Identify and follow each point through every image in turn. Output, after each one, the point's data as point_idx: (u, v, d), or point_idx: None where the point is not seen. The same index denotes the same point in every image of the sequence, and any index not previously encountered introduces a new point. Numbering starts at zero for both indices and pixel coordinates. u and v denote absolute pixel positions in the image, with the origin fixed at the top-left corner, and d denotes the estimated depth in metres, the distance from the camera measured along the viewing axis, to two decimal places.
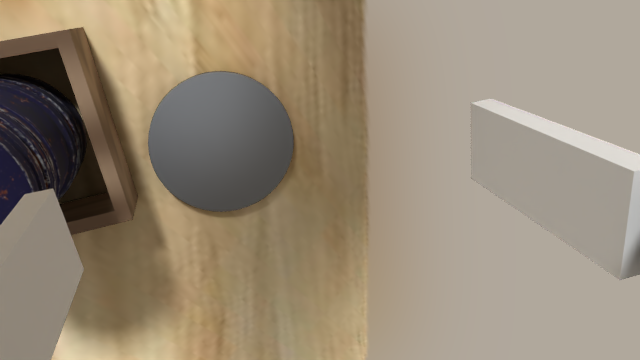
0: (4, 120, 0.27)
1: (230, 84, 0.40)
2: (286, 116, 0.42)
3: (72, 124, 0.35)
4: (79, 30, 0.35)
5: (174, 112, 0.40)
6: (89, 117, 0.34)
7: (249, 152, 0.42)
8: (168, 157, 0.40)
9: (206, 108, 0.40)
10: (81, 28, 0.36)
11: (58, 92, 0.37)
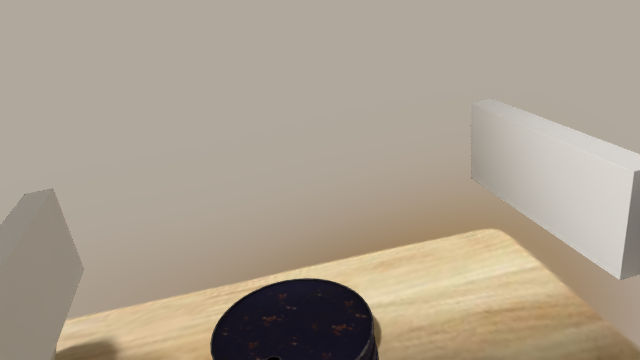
0: None
1: None
2: None
3: None
4: None
5: None
6: None
7: None
8: None
9: None
10: None
11: None
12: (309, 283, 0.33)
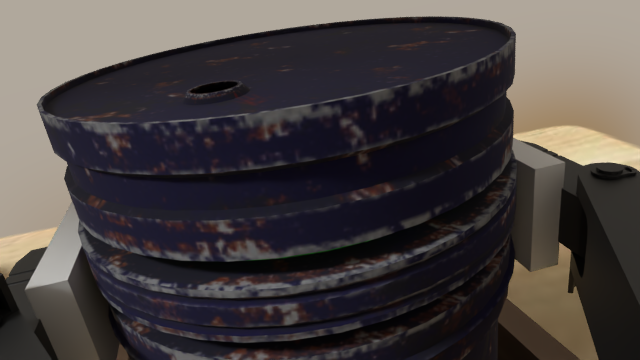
0: None
1: None
2: None
3: None
4: None
5: None
6: None
7: None
8: None
9: None
10: None
11: None
12: (320, 30, 0.15)
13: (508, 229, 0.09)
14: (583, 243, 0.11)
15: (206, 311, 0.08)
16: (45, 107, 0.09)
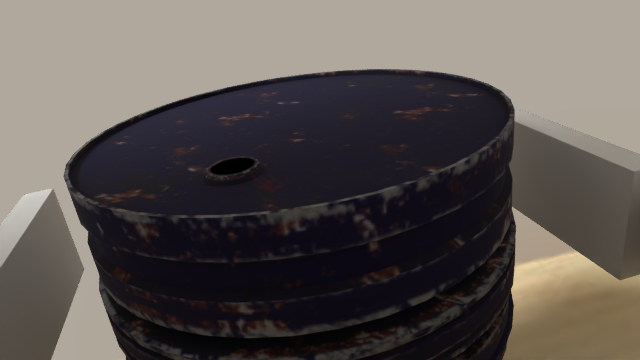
0: None
1: None
2: None
3: None
4: None
5: None
6: None
7: None
8: None
9: None
10: None
11: None
12: (326, 79, 0.15)
13: (507, 292, 0.10)
14: None
15: None
16: (70, 176, 0.10)
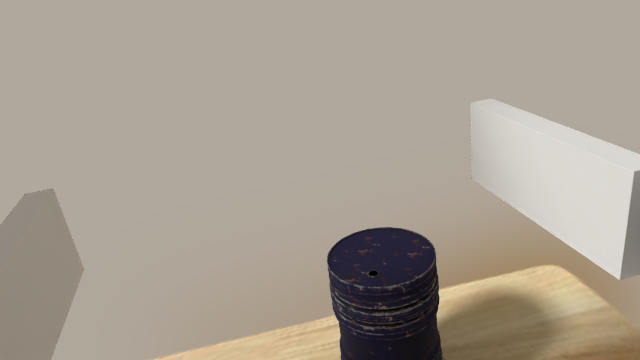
0: None
1: None
2: None
3: None
4: None
5: None
6: None
7: None
8: None
9: None
10: None
11: None
12: (385, 230, 0.48)
13: (434, 299, 0.42)
14: None
15: (374, 318, 0.41)
16: (332, 273, 0.42)
